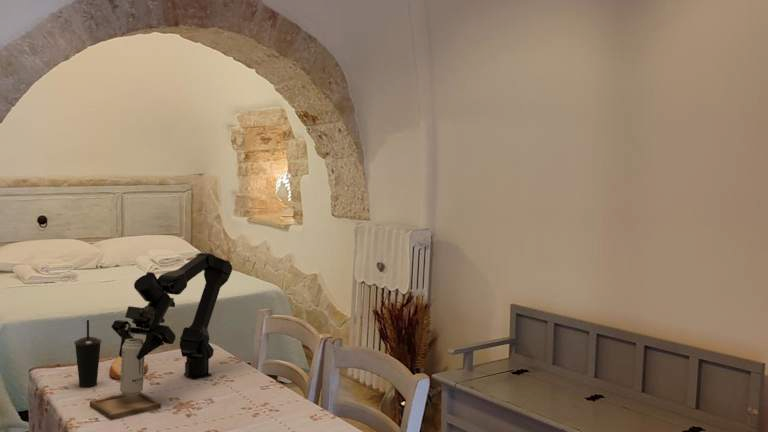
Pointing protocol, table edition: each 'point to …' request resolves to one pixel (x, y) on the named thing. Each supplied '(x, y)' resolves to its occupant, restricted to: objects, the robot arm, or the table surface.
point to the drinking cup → (88, 359)
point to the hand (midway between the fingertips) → (129, 357)
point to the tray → (124, 405)
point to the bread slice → (116, 368)
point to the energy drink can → (131, 368)
